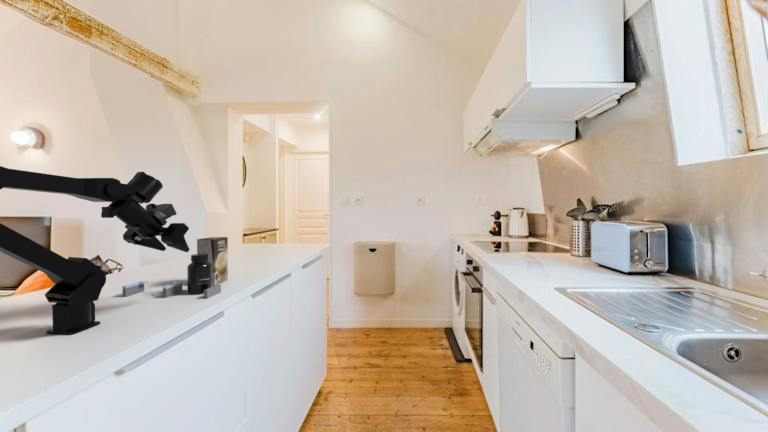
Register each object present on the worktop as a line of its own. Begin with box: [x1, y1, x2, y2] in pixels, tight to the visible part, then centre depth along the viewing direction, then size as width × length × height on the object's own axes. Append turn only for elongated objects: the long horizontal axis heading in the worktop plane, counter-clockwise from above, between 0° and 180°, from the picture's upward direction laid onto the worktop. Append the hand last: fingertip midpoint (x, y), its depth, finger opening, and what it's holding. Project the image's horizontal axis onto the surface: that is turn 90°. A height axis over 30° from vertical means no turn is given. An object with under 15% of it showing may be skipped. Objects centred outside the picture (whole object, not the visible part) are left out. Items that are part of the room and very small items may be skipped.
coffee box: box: [196, 236, 229, 287], centre depth 117 cm, size 9×6×16 cm
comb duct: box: [121, 280, 222, 299], centre depth 101 cm, size 7×27×3 cm, turn 85°
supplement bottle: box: [186, 253, 213, 295], centre depth 104 cm, size 7×7×12 cm
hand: (176, 250), depth 97 cm, fingers open, 9 cm apart
